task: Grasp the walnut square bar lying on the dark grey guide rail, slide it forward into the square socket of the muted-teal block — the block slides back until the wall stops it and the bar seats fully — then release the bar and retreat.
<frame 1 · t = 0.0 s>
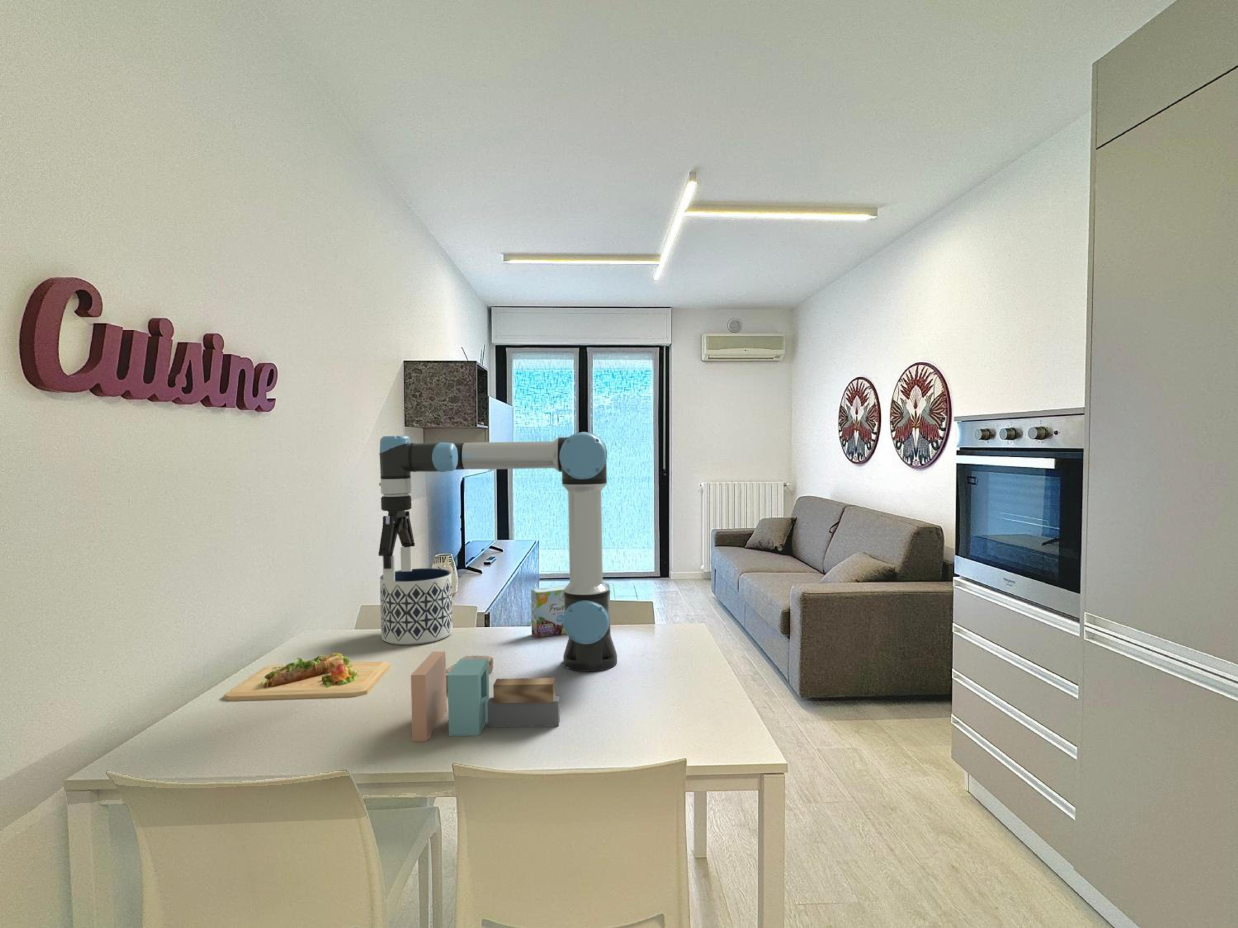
hand: (398, 576, 175), 28 cm above the table, fingers open, 13 cm apart
snack box: (564, 632, 221), on the table
bar: (524, 699, 148), point 5 cm above the table, touching rail
wall: (430, 725, 149), on the table
cutting board: (312, 685, 178), on the table
rail: (524, 723, 148), on the table
brick: (466, 682, 177), on the table
planter: (417, 636, 220), on the table
block: (469, 695, 148), point 6 cm above the table, slide at 0.0 cm
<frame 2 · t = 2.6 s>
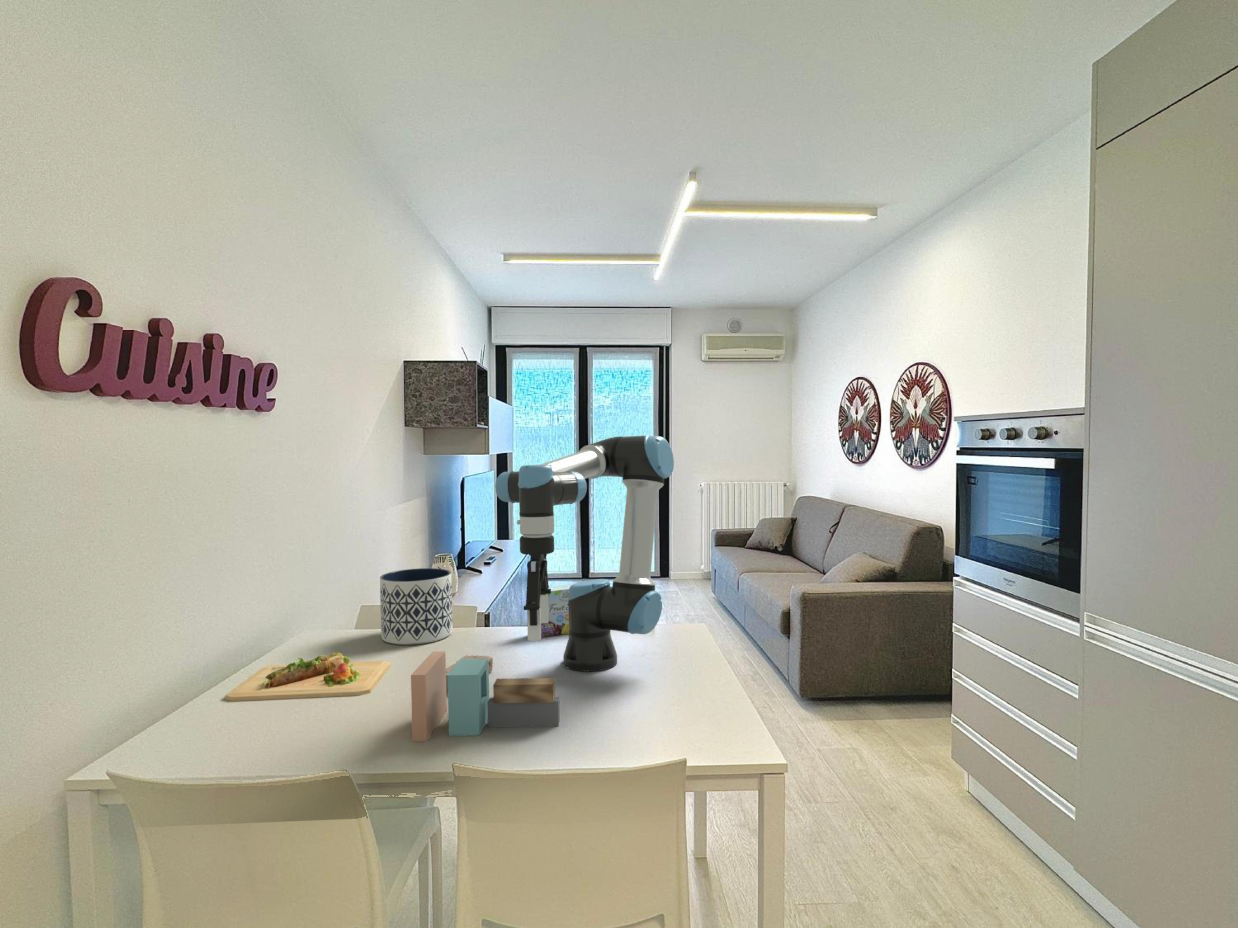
hand: (538, 631, 148), 21 cm above the table, fingers open, 13 cm apart
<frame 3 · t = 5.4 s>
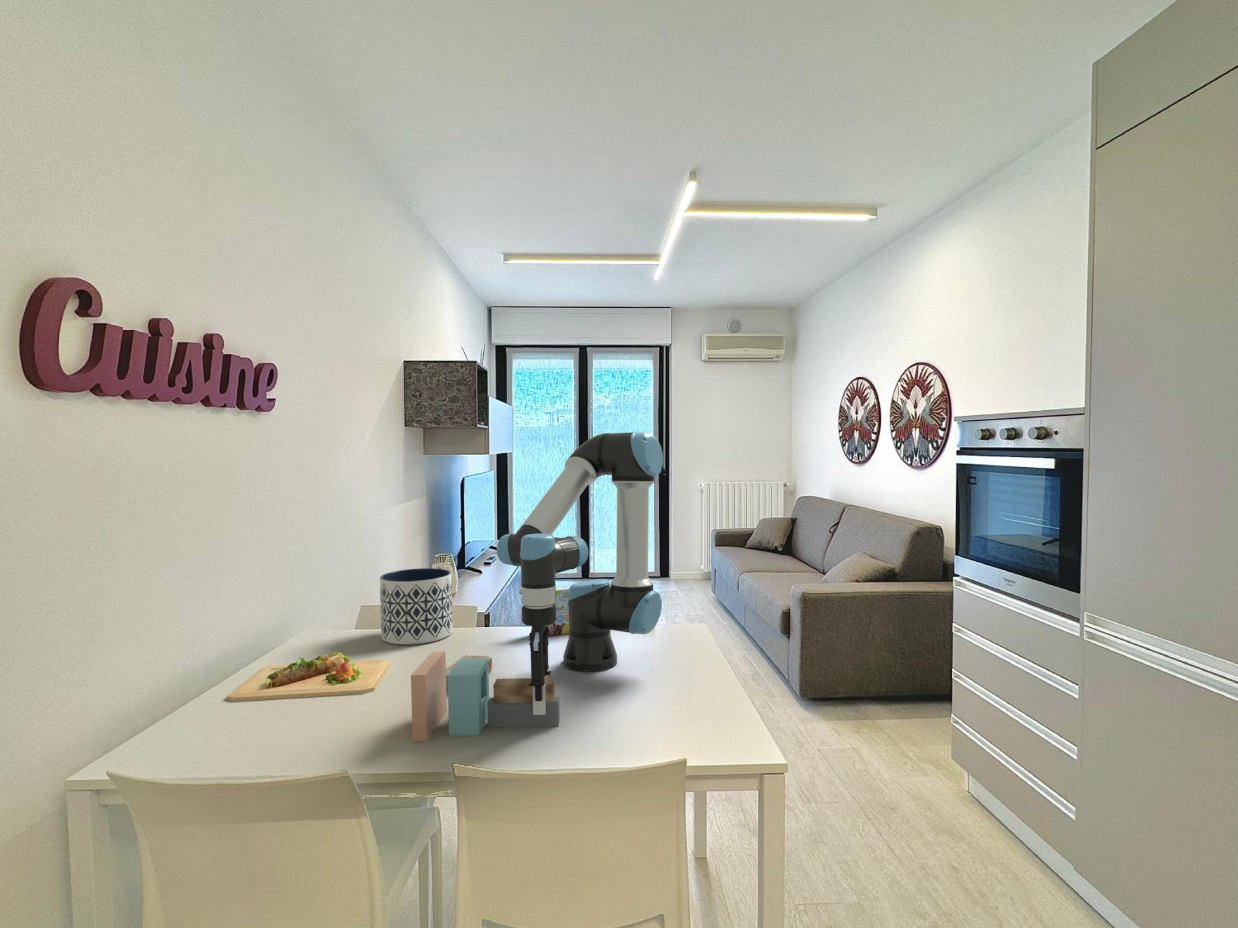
hand: (540, 709, 148), 3 cm above the table, fingers closed on bar, 4 cm apart
bar: (524, 699, 148), point 6 cm above the table, touching gripper, rail
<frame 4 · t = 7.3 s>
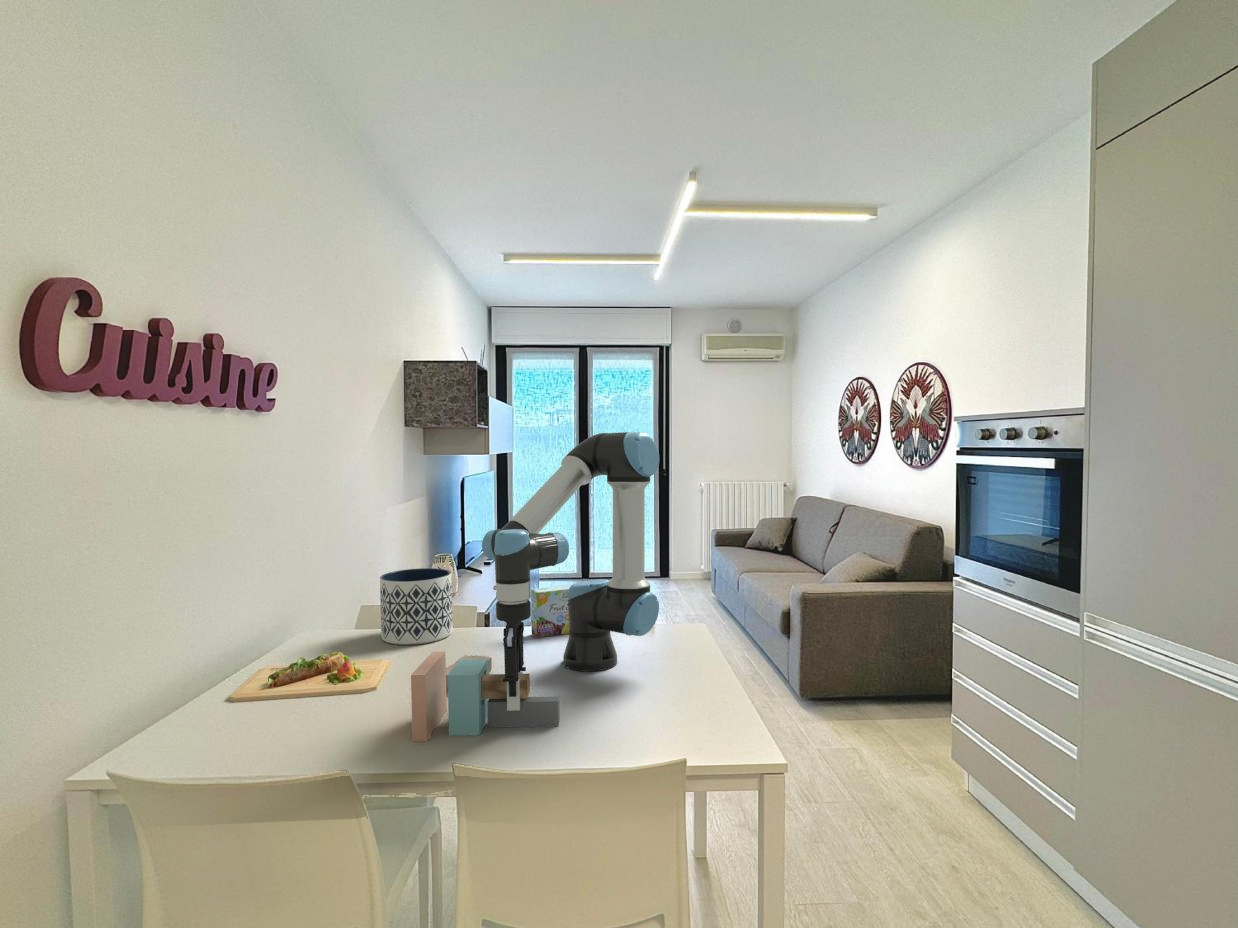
hand: (515, 705, 148), 4 cm above the table, fingers closed on bar, 4 cm apart
bar: (499, 694, 148), point 7 cm above the table, touching gripper
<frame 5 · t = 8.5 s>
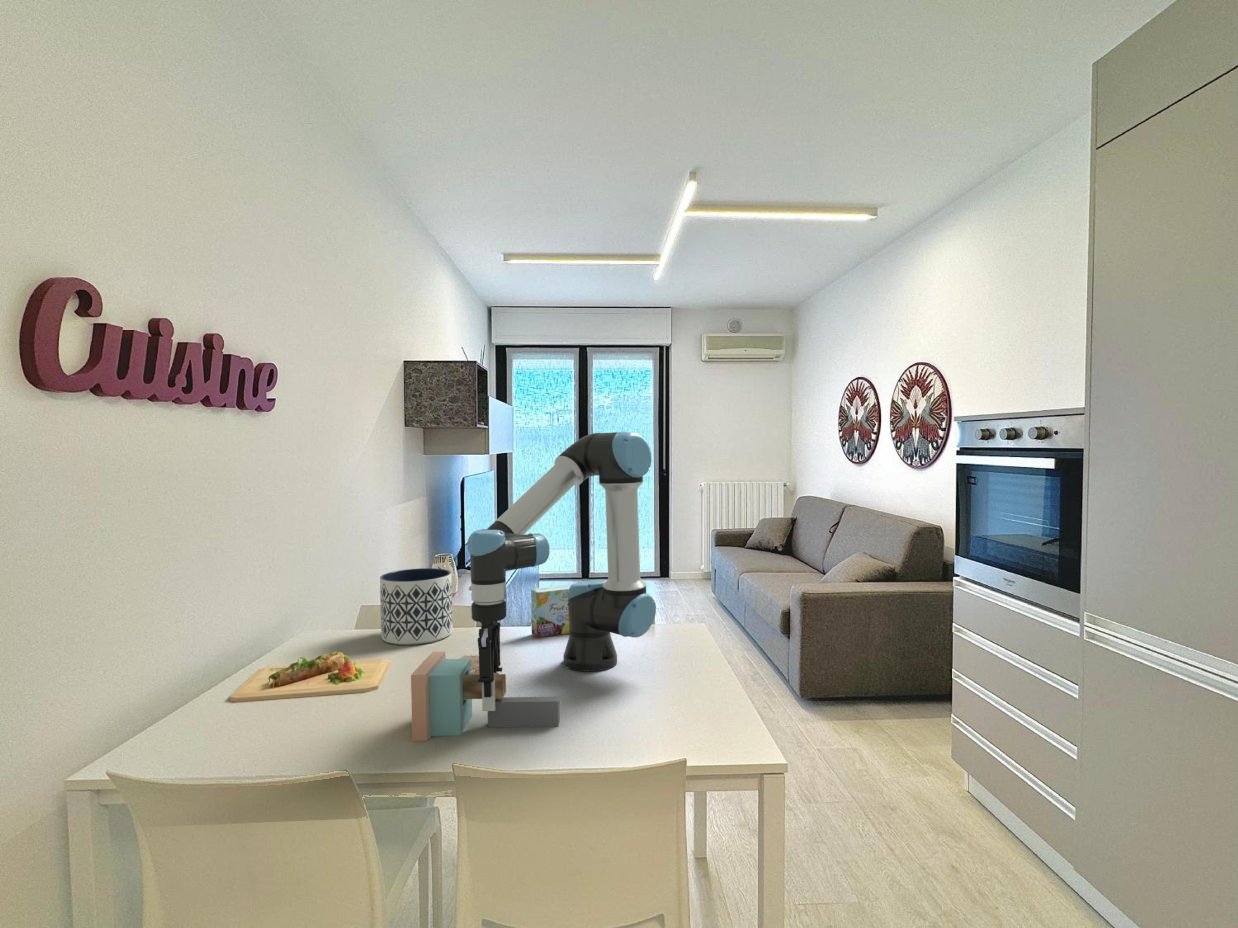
hand: (491, 705, 148), 4 cm above the table, fingers closed on bar, 4 cm apart
bar: (475, 695, 148), point 7 cm above the table, touching block, gripper
block: (451, 695, 148), point 6 cm above the table, slide at 4.0 cm, touching bar
when the fingers open (4 cm above the table, at t = 9.6 s): bar drops 1 cm, resting on block, rail.
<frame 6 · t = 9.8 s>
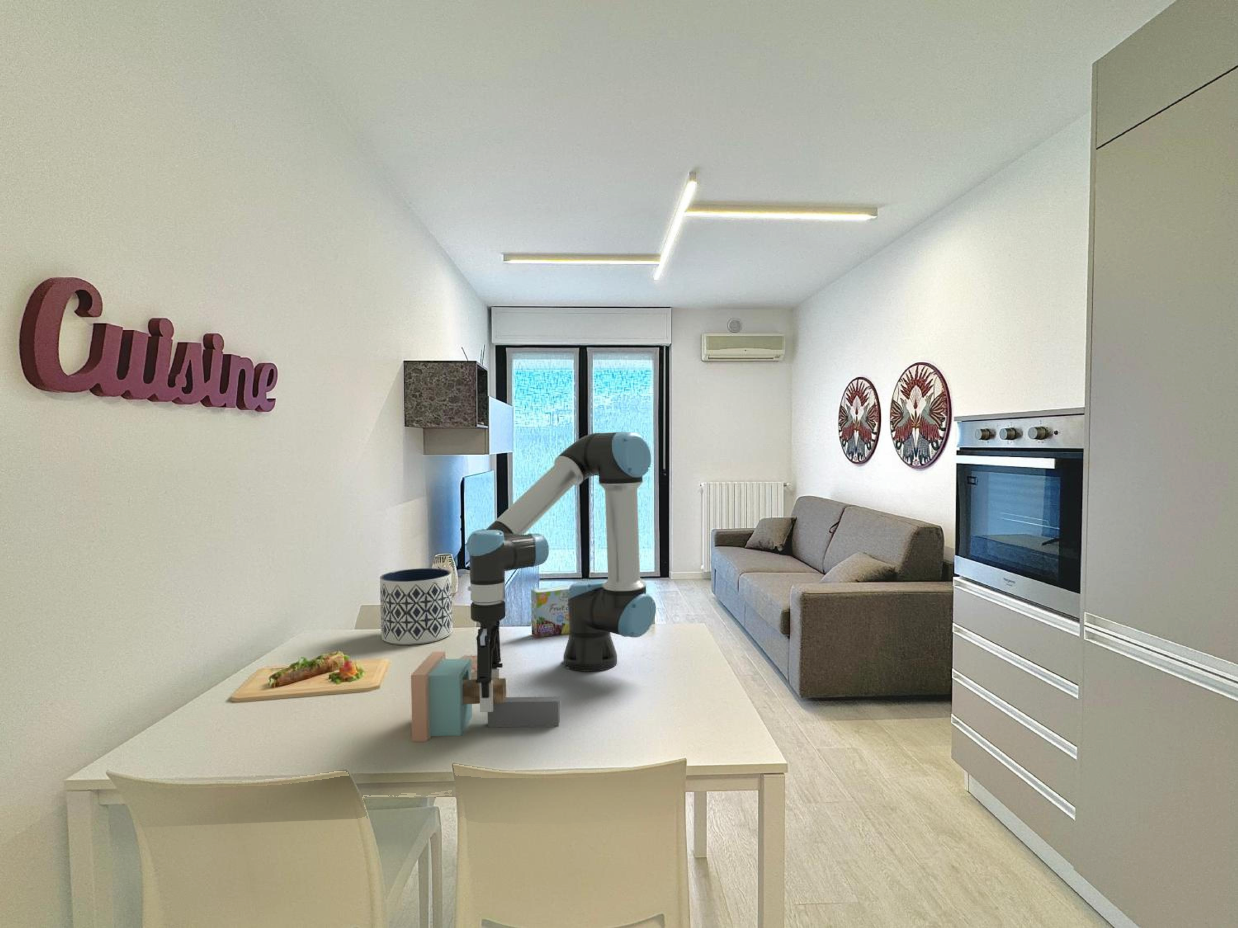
hand: (490, 703, 148), 5 cm above the table, fingers open, 7 cm apart
bar: (475, 700, 148), point 5 cm above the table, touching block, rail
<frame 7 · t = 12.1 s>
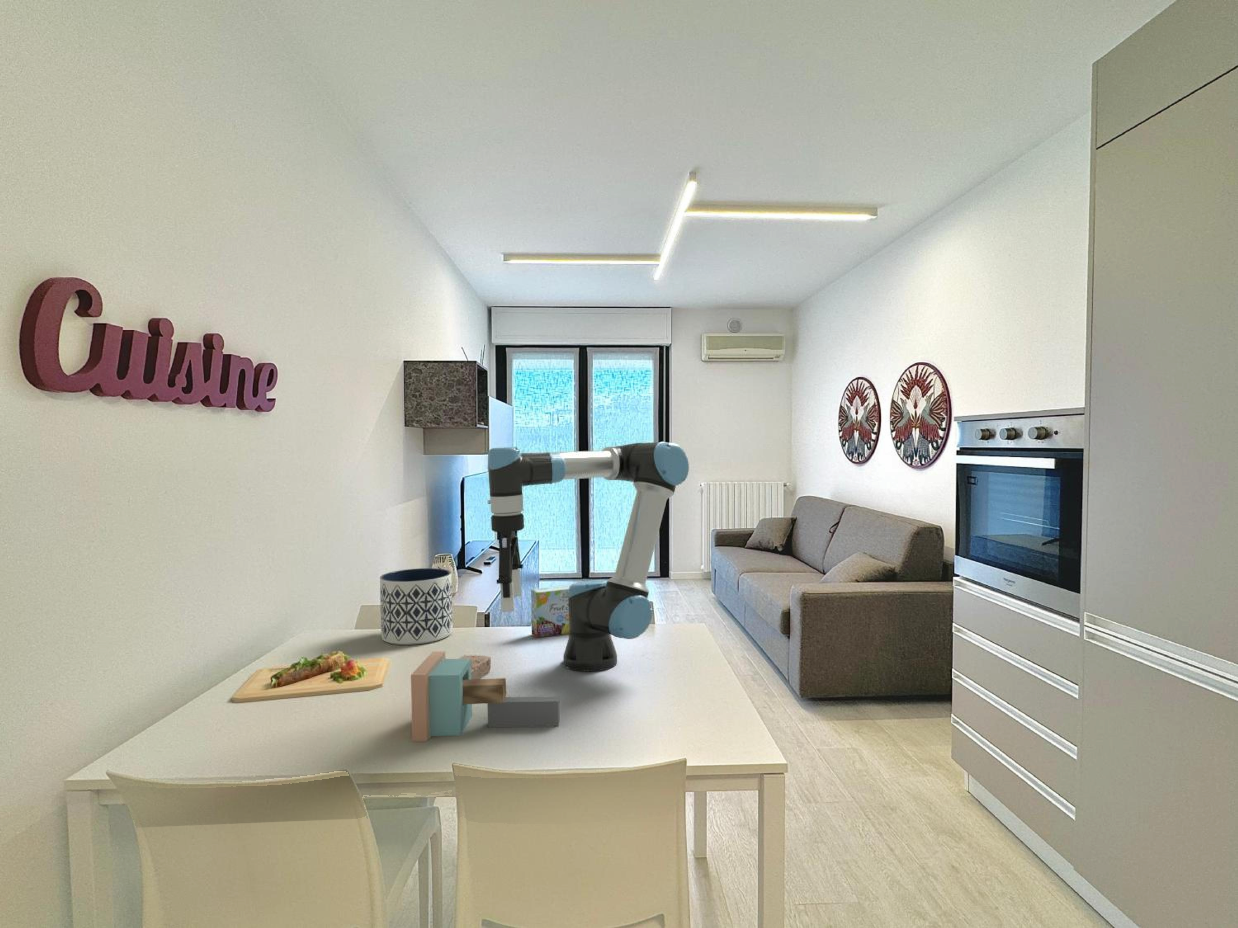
hand: (512, 603, 157), 25 cm above the table, fingers open, 13 cm apart
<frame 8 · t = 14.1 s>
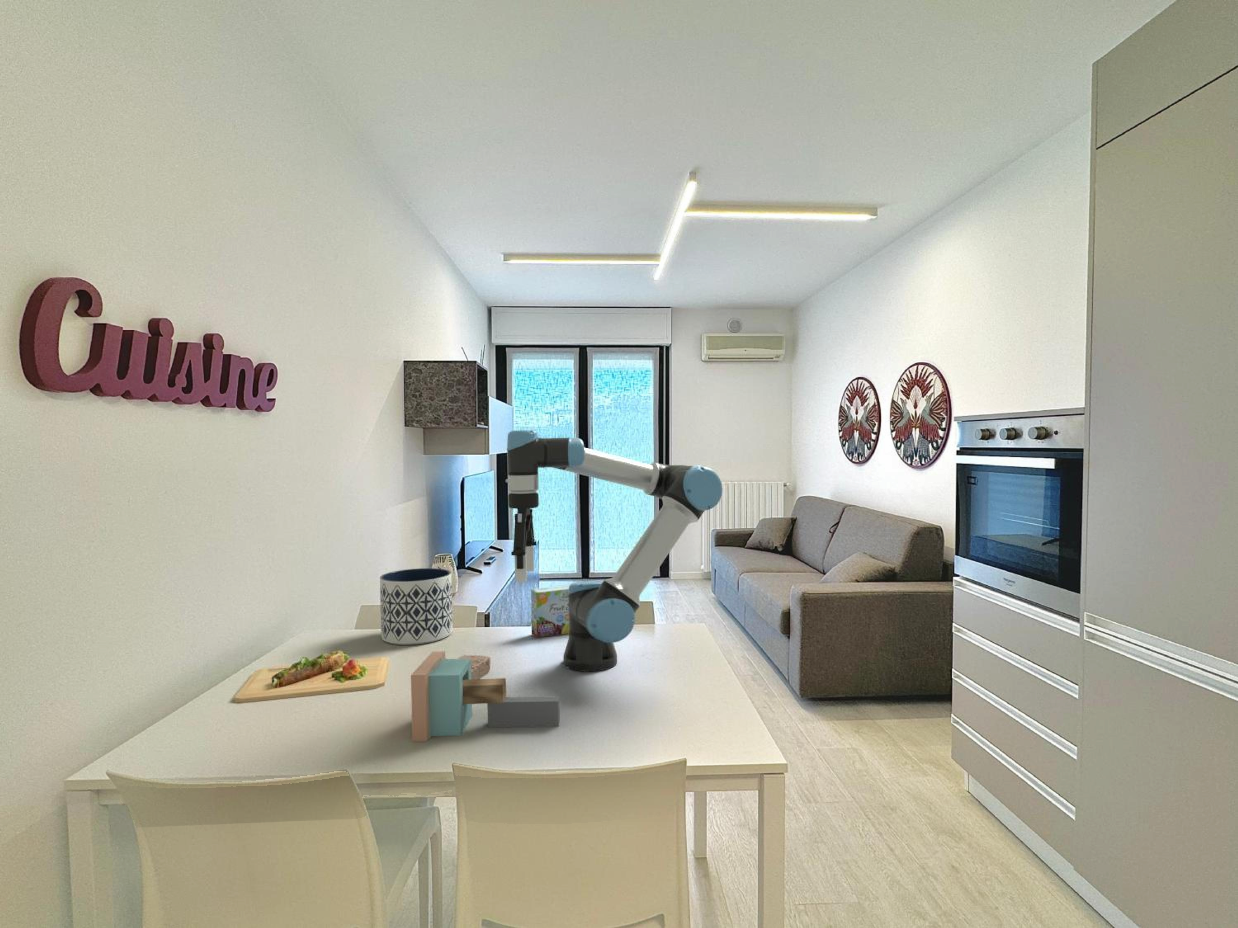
hand: (525, 576, 169), 29 cm above the table, fingers open, 13 cm apart
at the end: block slide at 4.0 cm; bar 0.2 cm from the target spot on the block, point 5.5 cm above the block's base; the gripper is holding nothing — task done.
